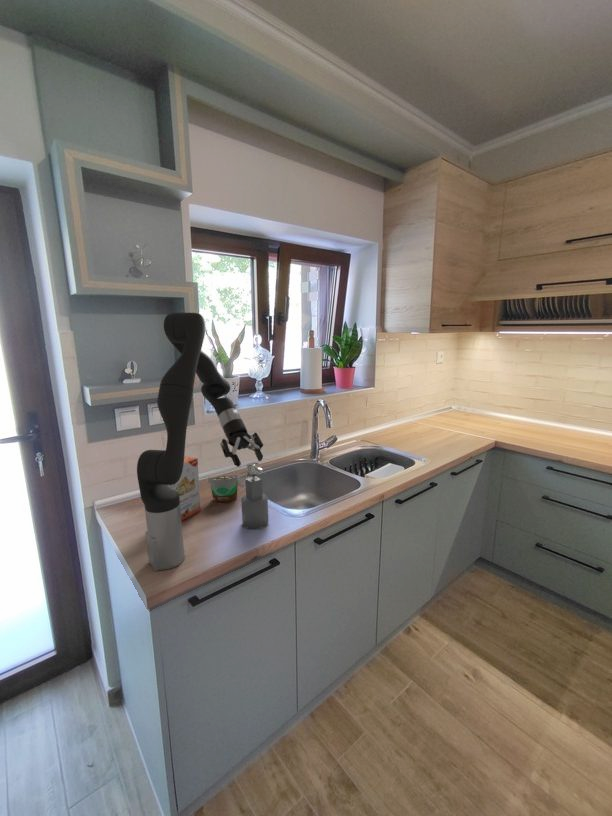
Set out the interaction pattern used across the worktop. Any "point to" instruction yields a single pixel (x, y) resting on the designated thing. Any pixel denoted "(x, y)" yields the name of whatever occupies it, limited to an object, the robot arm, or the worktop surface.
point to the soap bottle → (254, 505)
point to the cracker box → (188, 488)
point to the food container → (224, 488)
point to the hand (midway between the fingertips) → (250, 462)
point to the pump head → (253, 470)
